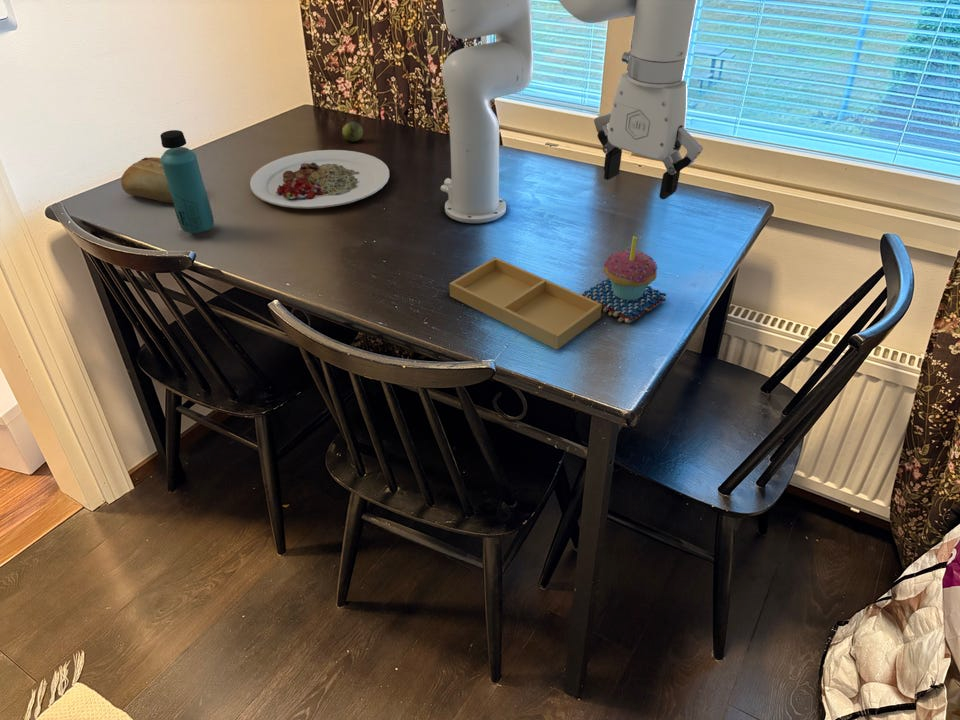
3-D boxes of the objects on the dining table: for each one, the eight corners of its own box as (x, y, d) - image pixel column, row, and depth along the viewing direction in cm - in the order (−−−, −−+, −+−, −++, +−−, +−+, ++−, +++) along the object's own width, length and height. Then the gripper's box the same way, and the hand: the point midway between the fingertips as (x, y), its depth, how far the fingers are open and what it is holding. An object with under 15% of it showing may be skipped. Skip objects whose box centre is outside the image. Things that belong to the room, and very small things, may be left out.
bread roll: (143, 184, 158) (132, 149, 153) (203, 191, 155) (193, 155, 150) (115, 202, 151) (102, 166, 146) (177, 210, 148) (166, 173, 143)
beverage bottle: (223, 227, 142) (198, 128, 129) (203, 243, 137) (174, 141, 124) (195, 222, 143) (168, 124, 131) (174, 238, 138) (144, 136, 126)
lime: (340, 142, 177) (338, 122, 174) (355, 136, 180) (353, 117, 177) (352, 146, 175) (350, 126, 171) (367, 141, 177) (365, 121, 174)
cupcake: (652, 309, 114) (664, 242, 107) (599, 303, 116) (606, 237, 108) (653, 281, 121) (664, 216, 113) (602, 276, 122) (610, 212, 115)
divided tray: (449, 296, 121) (449, 283, 120) (495, 269, 128) (495, 256, 127) (556, 350, 109) (558, 336, 108) (600, 317, 116) (602, 304, 115)
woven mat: (616, 278, 126) (618, 268, 124) (667, 302, 119) (669, 292, 118) (578, 301, 120) (579, 291, 119) (629, 327, 114) (630, 317, 113)
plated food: (405, 161, 167) (404, 147, 165) (367, 220, 144) (365, 204, 142) (283, 153, 171) (281, 140, 169) (227, 209, 148) (223, 194, 146)
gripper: (587, 61, 99) (576, 177, 110) (700, 89, 90) (676, 213, 101) (618, 50, 103) (604, 162, 114) (728, 75, 94) (702, 195, 105)
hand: (638, 186), depth 107 cm, fingers open, 9 cm apart
